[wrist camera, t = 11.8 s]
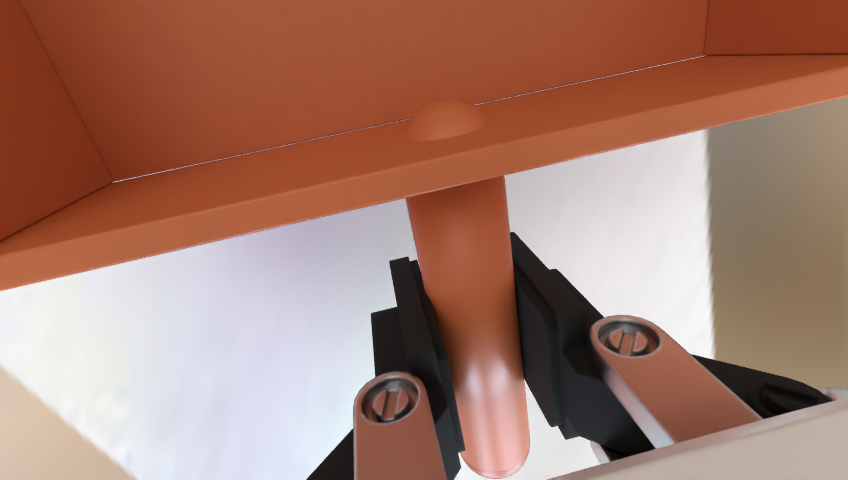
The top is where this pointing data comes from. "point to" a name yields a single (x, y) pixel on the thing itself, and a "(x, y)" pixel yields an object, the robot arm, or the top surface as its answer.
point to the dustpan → (368, 131)
